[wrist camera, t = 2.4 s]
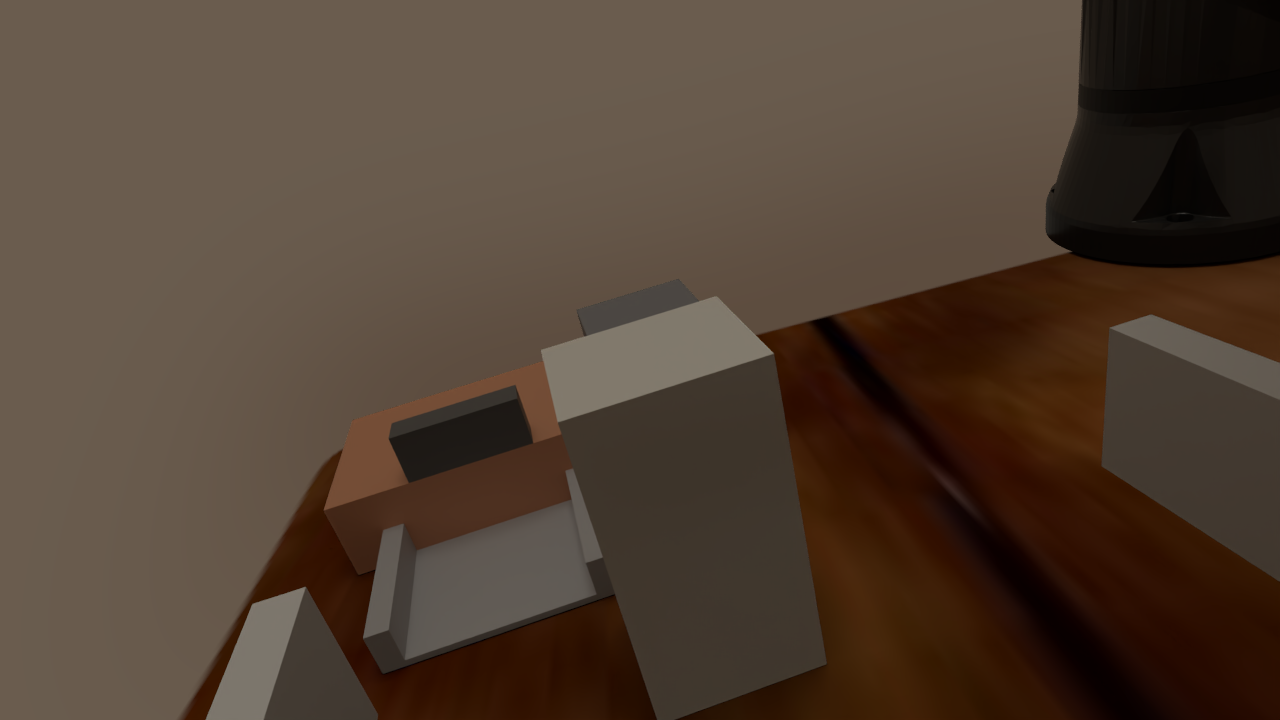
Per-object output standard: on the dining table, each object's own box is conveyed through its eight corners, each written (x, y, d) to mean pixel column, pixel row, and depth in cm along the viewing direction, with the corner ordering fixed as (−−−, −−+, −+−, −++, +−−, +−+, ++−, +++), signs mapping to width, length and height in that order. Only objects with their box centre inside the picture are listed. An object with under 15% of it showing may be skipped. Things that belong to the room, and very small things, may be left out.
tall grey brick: (771, 568, 29) (716, 296, 24) (826, 664, 24) (773, 353, 19) (629, 618, 28) (540, 350, 23) (659, 725, 24) (557, 422, 19)
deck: (725, 366, 45) (704, 261, 42) (845, 514, 30) (826, 371, 27) (379, 476, 43) (330, 374, 40) (333, 691, 28) (251, 557, 25)
